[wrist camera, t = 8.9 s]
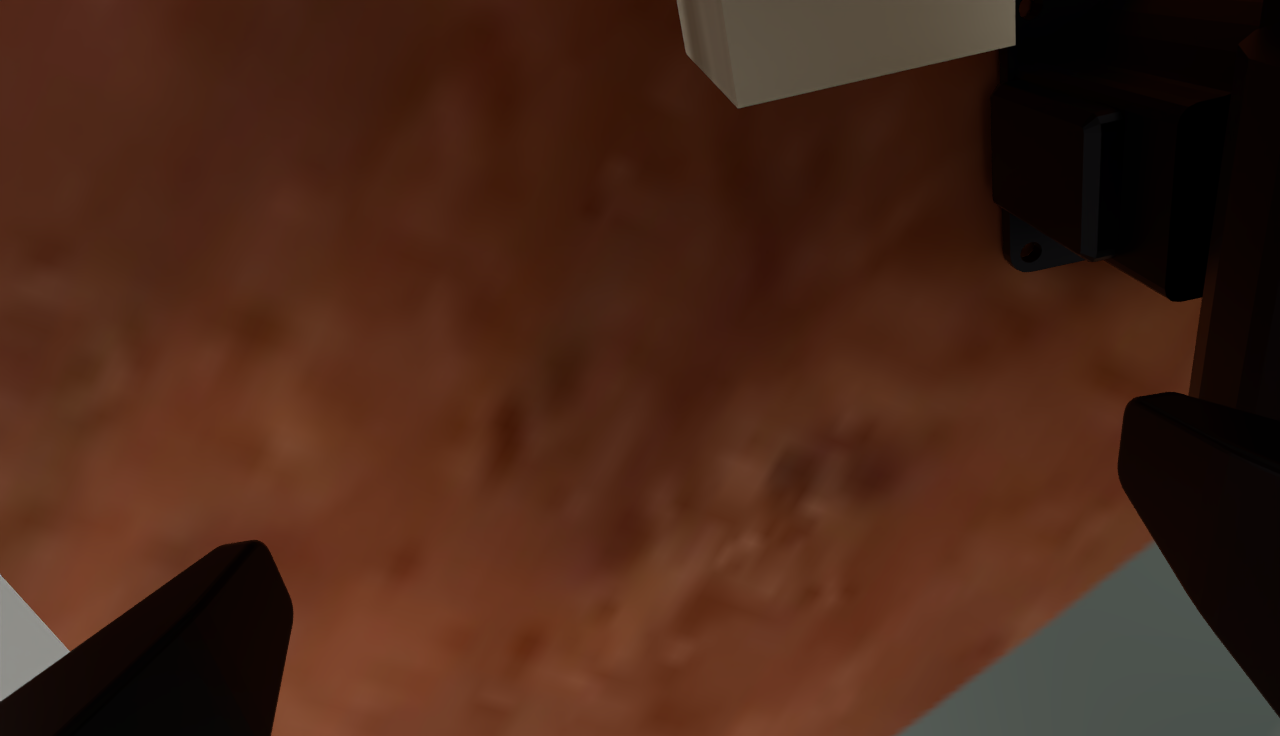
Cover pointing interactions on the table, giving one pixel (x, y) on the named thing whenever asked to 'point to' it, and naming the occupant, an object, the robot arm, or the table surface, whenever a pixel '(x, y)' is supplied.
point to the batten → (832, 40)
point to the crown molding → (23, 642)
